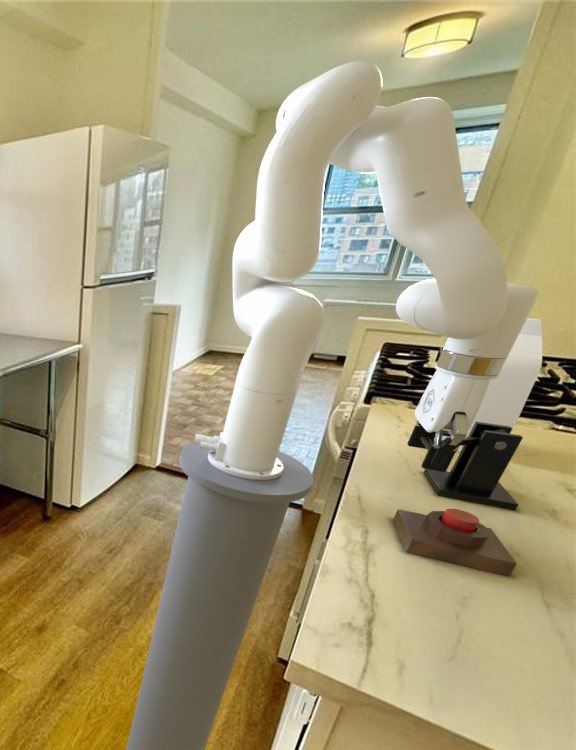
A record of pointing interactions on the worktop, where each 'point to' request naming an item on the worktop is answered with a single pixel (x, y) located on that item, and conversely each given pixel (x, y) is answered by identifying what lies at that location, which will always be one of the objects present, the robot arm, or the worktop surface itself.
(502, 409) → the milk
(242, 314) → the robot arm
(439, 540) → the button box
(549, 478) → the worktop surface
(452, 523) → the button
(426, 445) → the lever
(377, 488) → the worktop surface
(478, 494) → the bracket
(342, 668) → the worktop surface
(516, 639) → the worktop surface
